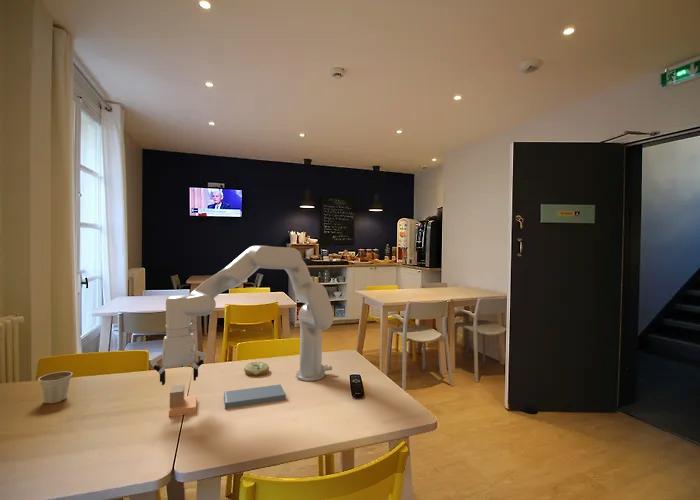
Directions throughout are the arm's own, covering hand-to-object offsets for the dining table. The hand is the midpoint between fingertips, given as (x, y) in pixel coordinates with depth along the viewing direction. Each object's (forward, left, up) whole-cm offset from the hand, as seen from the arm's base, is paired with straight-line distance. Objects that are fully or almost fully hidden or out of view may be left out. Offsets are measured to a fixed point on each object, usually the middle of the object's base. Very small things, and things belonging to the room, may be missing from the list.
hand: (179, 381), depth 119 cm
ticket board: (-25, 0, -9) cm, 27 cm away
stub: (-1, 0, -9) cm, 9 cm away
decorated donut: (-29, -27, -10) cm, 41 cm away
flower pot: (+41, -22, -10) cm, 48 cm away
